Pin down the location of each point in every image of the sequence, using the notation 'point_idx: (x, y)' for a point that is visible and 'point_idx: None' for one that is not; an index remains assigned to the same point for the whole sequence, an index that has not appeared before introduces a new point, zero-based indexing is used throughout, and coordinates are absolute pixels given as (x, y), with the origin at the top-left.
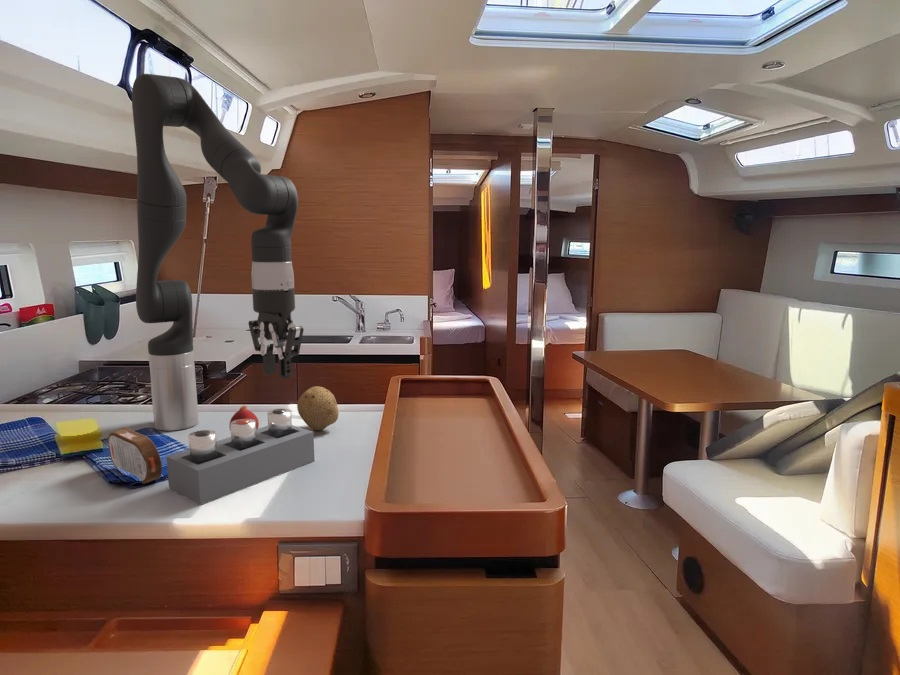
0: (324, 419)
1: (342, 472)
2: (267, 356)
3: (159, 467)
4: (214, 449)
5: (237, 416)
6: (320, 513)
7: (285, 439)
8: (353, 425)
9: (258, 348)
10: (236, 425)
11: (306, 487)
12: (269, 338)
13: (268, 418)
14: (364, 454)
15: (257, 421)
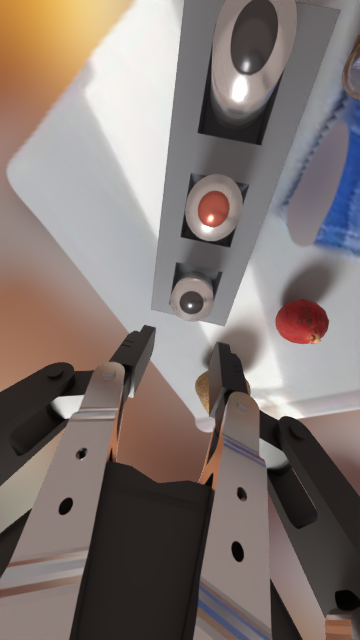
0: (204, 373)
1: (111, 280)
2: (219, 393)
3: (352, 51)
4: (211, 89)
5: (313, 318)
6: (38, 162)
7: (161, 264)
8: (193, 387)
9: (279, 428)
10: (212, 181)
11: (111, 222)
12: (179, 492)
13: (201, 280)
14: (128, 329)
15: (280, 332)
